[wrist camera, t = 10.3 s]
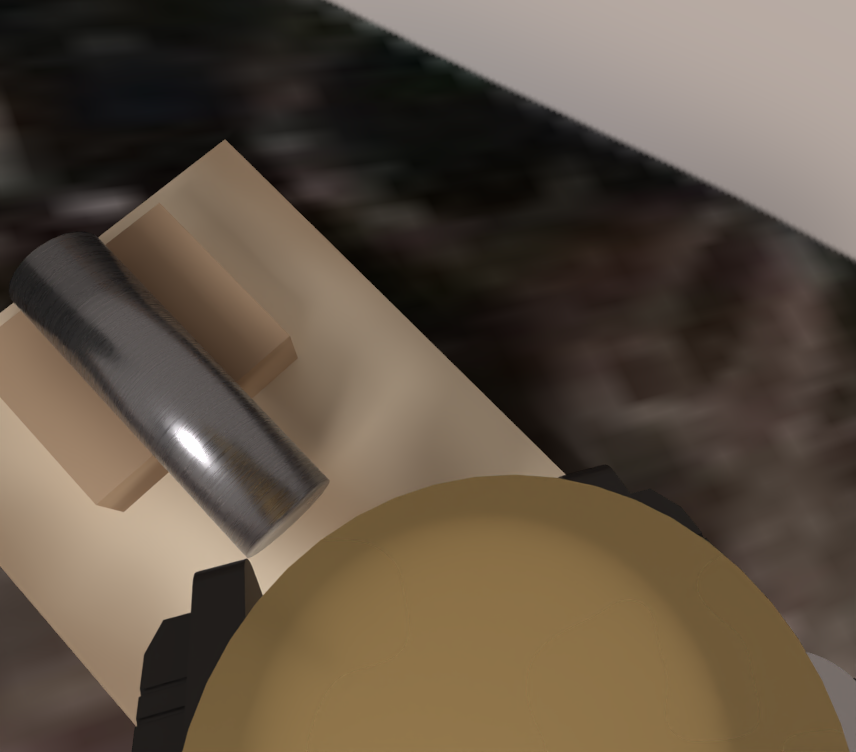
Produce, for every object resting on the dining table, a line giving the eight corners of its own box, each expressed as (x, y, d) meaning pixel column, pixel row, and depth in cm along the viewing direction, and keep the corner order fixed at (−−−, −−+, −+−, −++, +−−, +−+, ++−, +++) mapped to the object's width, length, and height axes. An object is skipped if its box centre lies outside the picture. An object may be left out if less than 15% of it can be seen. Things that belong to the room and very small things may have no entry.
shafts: (787, 1140, 15) (863, 1242, 13) (37, 321, 18) (-11, 284, 16) (856, 1036, 16) (940, 1115, 13) (116, 259, 19) (80, 215, 17)
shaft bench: (655, 1312, 17) (715, 1467, 14) (-106, 420, 20) (-185, 395, 18) (952, 869, 19) (1053, 921, 16) (231, 157, 23) (211, 98, 20)
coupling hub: (431, 851, 14) (544, 1499, 4) (262, 662, 14) (12, 834, 5) (596, 661, 15) (1001, 818, 5) (431, 493, 15) (511, 351, 6)
